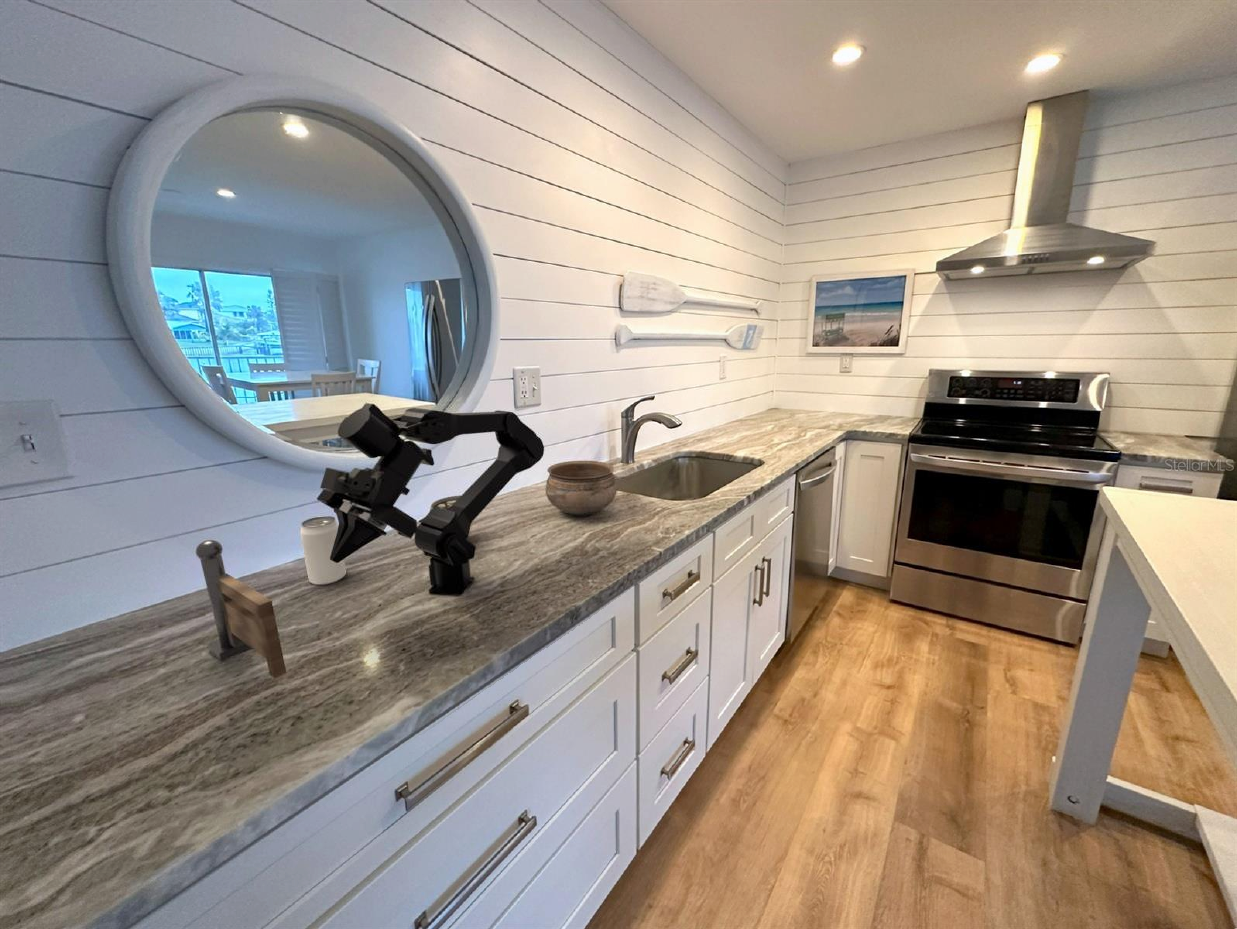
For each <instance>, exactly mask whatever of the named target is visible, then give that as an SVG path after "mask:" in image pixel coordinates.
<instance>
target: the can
mask: <svg viewBox="0 0 1237 929" xmlns="http://www.w3.org/2000/svg"><path fill="white" fill-rule="evenodd" d="M300 525H301V528H300V538H301V544H302V551H303V556H304V561H305V569H306V572H307V577H308V581H309V583H310V584H312V585H314V586H315V585H316V586H325V585H331V584H333V583H336V582H338V581H340V580H342V579H343V578H344V577H345V575H346V574H347V569H346V561H345V559H343V560H342V561H340V562H339V563H336V562H334V561H331V560H330V556H331V552H332V549H333V545H334V542H335V538H336V535H337V531H338V526H339V522H337V521H336V517H335V516H333V515H332V516H331V515H323V516H322V515H321V516H314V517H311V518H308V519H306V520H304V521H302V522H301V524H300Z"/></svg>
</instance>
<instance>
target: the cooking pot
mask: <svg viewBox="0 0 1237 929" xmlns="http://www.w3.org/2000/svg"><path fill="white" fill-rule="evenodd" d="M614 471H615V467H614V466H613V465H612V464H611V463H607V462H602V461H598V460H569V461H564V462H558V463H555V464H551V465H550V466H549V467H547V472H548V474H549V475H548V477H547V479H546V483H545V495H546V497H547V500H548V501H549V503H550V504H552V505H553V507H555V508H556V509H558V510H561V511H562V512H564V513H567V514H568V515H570V516H573V517H577V518H578V517H580V518H585V517H589V516H592V515H594V514H596V513H598V512H600V511H602V510H604V509H605V508H607V507H608V506H609V505H610V504H612V502H613V501H614V499H615V497H616V494H617V491H618V490H617V489H618V485H617V482H616V478H615V475H614V473H613V472H614Z"/></svg>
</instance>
